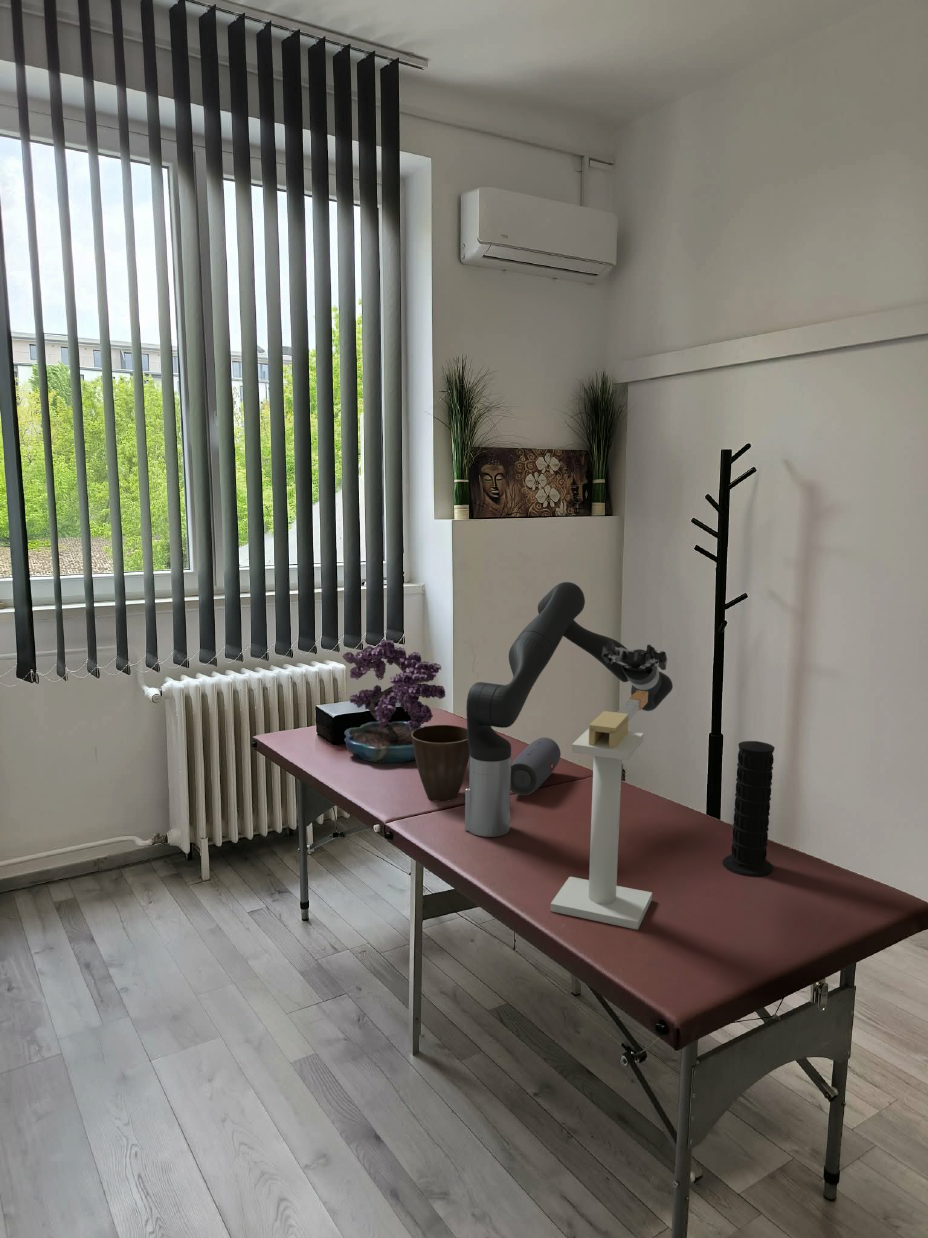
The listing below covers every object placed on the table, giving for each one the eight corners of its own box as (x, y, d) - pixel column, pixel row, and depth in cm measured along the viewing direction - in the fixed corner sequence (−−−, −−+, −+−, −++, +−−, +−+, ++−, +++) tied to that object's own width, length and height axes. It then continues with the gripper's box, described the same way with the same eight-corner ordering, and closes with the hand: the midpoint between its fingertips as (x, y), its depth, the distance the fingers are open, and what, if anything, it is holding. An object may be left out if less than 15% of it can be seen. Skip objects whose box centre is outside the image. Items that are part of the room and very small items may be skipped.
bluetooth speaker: (539, 803, 215) (540, 763, 214) (502, 798, 218) (503, 758, 217) (562, 773, 236) (563, 737, 235) (528, 769, 239) (529, 733, 238)
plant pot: (450, 812, 209) (451, 746, 206) (399, 799, 217) (399, 735, 214) (483, 793, 221) (484, 731, 219) (433, 781, 229) (433, 721, 226)
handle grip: (773, 880, 176) (774, 859, 186) (783, 751, 172) (783, 737, 181) (721, 872, 179) (724, 852, 189) (729, 745, 175) (731, 731, 184)
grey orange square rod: (606, 732, 163) (607, 720, 162) (636, 701, 186) (637, 690, 185) (618, 734, 162) (619, 722, 162) (647, 702, 185) (648, 691, 184)
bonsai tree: (325, 745, 258) (324, 634, 252) (409, 732, 271) (410, 627, 266) (377, 782, 228) (376, 657, 223) (468, 766, 242) (470, 648, 236)
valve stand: (550, 911, 163) (556, 722, 157) (569, 883, 174) (575, 706, 168) (637, 929, 157) (647, 733, 151) (651, 900, 167) (661, 716, 161)
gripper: (614, 652, 215) (600, 628, 201) (673, 658, 209) (663, 633, 195) (609, 682, 213) (594, 659, 199) (669, 688, 207) (658, 666, 193)
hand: (629, 647), depth 197 cm, fingers open, 8 cm apart
